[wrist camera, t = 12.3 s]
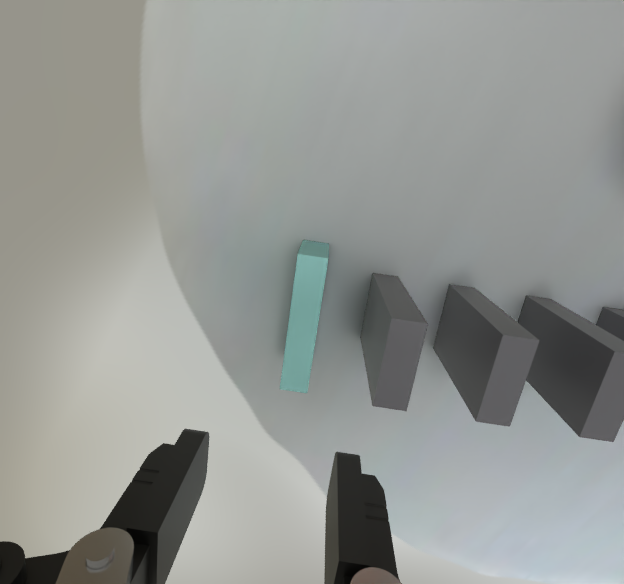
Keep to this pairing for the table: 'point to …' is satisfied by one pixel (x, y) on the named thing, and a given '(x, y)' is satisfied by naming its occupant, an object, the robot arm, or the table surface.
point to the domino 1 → (304, 315)
